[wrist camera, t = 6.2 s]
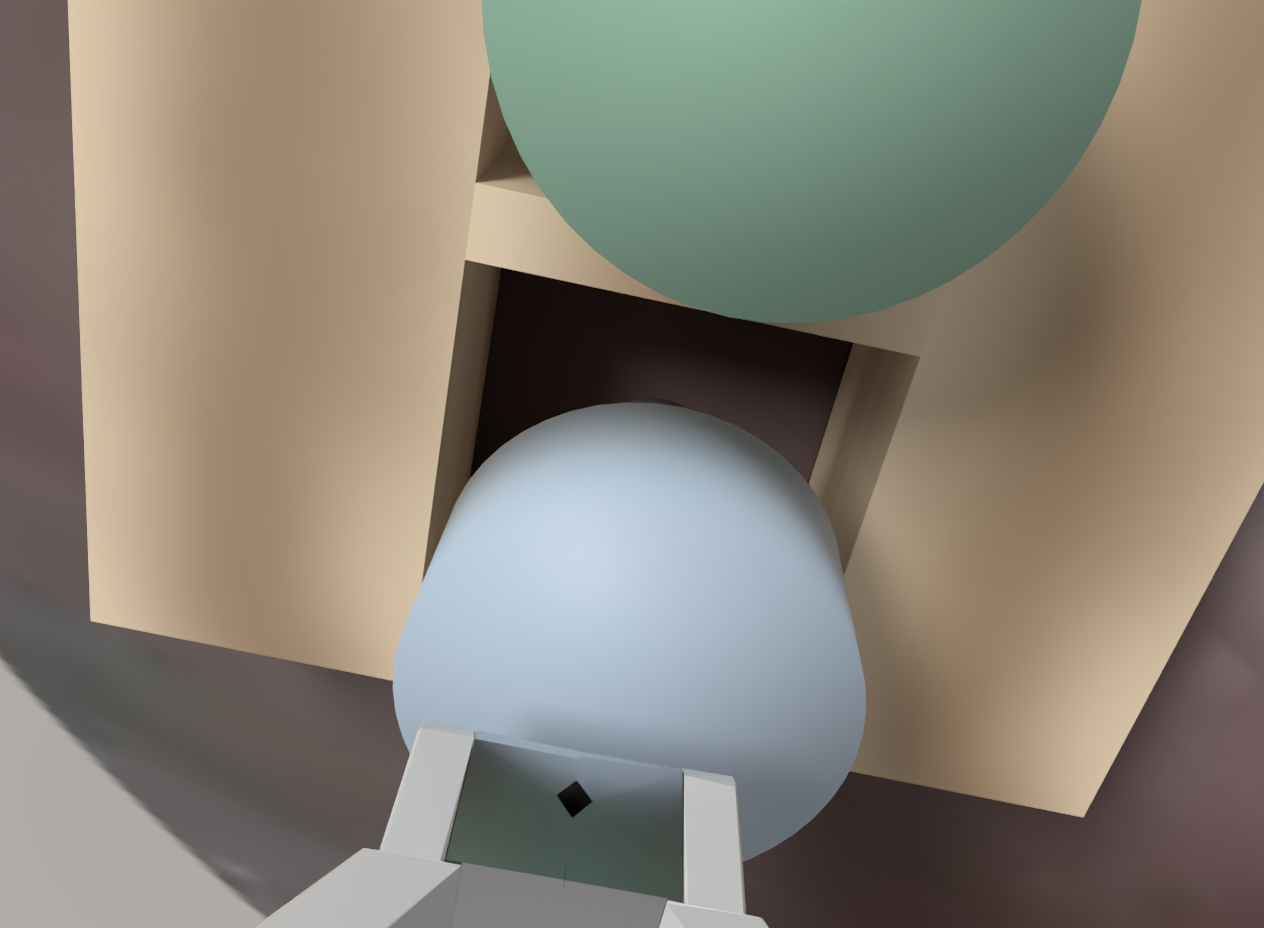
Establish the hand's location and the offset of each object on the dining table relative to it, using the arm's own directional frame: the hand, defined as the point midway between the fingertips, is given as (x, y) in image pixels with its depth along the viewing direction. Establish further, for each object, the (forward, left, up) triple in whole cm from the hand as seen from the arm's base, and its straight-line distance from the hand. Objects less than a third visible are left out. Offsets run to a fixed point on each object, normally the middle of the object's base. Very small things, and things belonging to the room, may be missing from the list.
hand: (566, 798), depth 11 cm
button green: (-1, -7, -7) cm, 10 cm away
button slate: (-1, 0, -7) cm, 7 cm away
